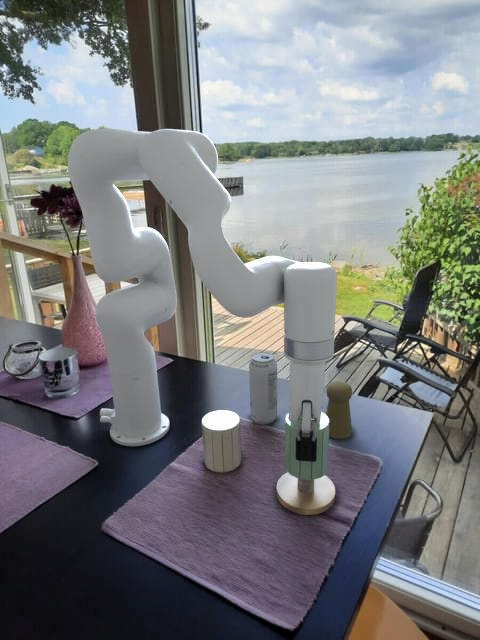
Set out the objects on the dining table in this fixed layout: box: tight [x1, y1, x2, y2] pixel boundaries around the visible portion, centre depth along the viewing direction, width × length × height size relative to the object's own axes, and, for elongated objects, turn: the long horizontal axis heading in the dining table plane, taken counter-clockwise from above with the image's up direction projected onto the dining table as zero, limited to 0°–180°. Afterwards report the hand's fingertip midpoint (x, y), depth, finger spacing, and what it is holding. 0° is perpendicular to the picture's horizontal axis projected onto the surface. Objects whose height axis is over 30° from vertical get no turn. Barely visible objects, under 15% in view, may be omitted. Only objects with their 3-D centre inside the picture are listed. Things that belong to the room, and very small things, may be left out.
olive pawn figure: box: [325, 380, 353, 440], centre depth 91 cm, size 6×6×11 cm
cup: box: [201, 409, 242, 473], centre depth 83 cm, size 7×7×9 cm
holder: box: [275, 471, 337, 516], centre depth 73 cm, size 10×10×14 cm
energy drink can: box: [248, 351, 278, 425], centre depth 96 cm, size 6×6×15 cm
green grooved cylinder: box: [284, 411, 330, 480], centre depth 72 cm, size 7×7×9 cm
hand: (306, 444), depth 72 cm, fingers closed on green grooved cylinder, 7 cm apart
